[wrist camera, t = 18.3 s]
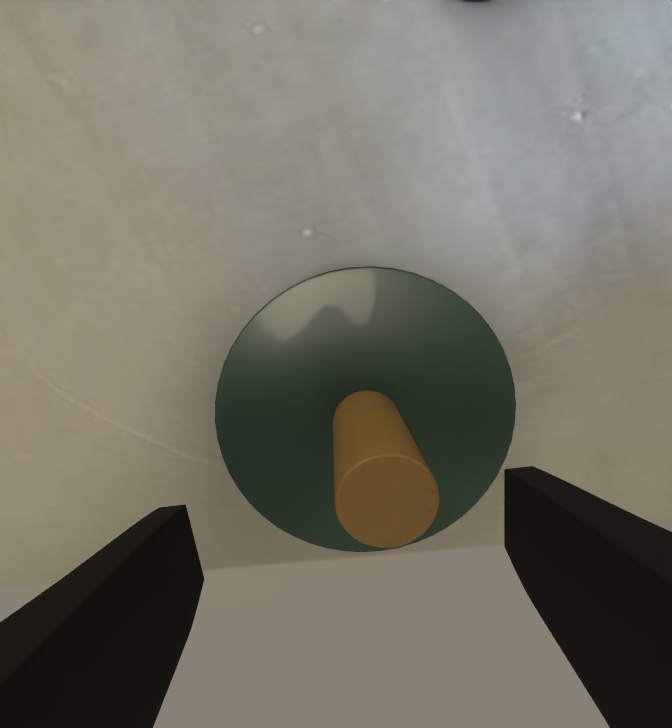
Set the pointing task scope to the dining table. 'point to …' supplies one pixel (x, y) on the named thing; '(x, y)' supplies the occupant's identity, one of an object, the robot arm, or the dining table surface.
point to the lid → (365, 409)
